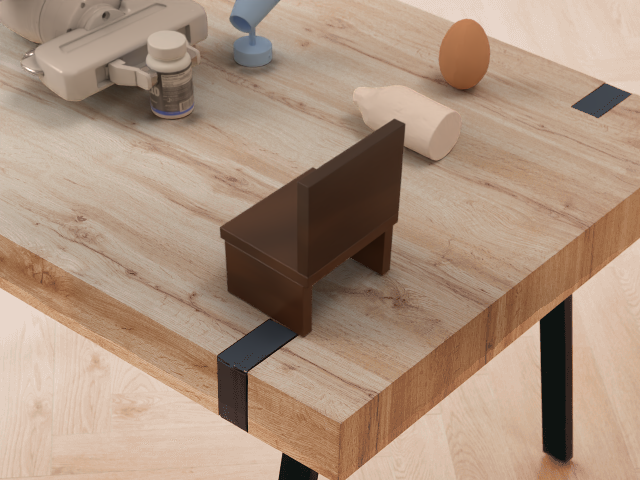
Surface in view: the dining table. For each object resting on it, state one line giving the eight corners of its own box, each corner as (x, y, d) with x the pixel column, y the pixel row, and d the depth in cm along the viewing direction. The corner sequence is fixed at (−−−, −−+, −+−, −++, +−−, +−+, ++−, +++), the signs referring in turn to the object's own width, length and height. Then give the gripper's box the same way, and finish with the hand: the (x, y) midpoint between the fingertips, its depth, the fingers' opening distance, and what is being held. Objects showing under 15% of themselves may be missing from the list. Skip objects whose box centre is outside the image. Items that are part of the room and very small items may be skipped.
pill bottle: (146, 100, 118) (139, 31, 113) (189, 94, 120) (183, 25, 114) (155, 123, 115) (148, 53, 109) (199, 116, 116) (194, 46, 111)
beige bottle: (372, 104, 120) (375, 60, 116) (460, 146, 114) (465, 100, 111) (337, 126, 116) (339, 80, 112) (426, 170, 111) (430, 123, 107)
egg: (494, 83, 124) (503, 17, 119) (472, 105, 121) (480, 38, 115) (450, 69, 126) (457, 3, 121) (427, 90, 123) (432, 23, 117)
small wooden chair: (223, 288, 96) (213, 137, 85) (312, 227, 103) (313, 80, 92) (307, 340, 91) (308, 187, 81) (394, 272, 98) (405, 123, 88)
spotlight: (251, 38, 130) (221, 62, 125) (249, -41, 123) (217, -18, 118) (287, 48, 128) (258, 73, 124) (287, -32, 122) (255, -8, 117)
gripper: (5, 34, 111) (94, 81, 105) (153, -29, 124) (240, 10, 118) (16, 87, 116) (102, 136, 109) (158, 21, 128) (242, 62, 122)
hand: (175, 70), depth 114 cm, fingers closed on pill bottle, 5 cm apart
